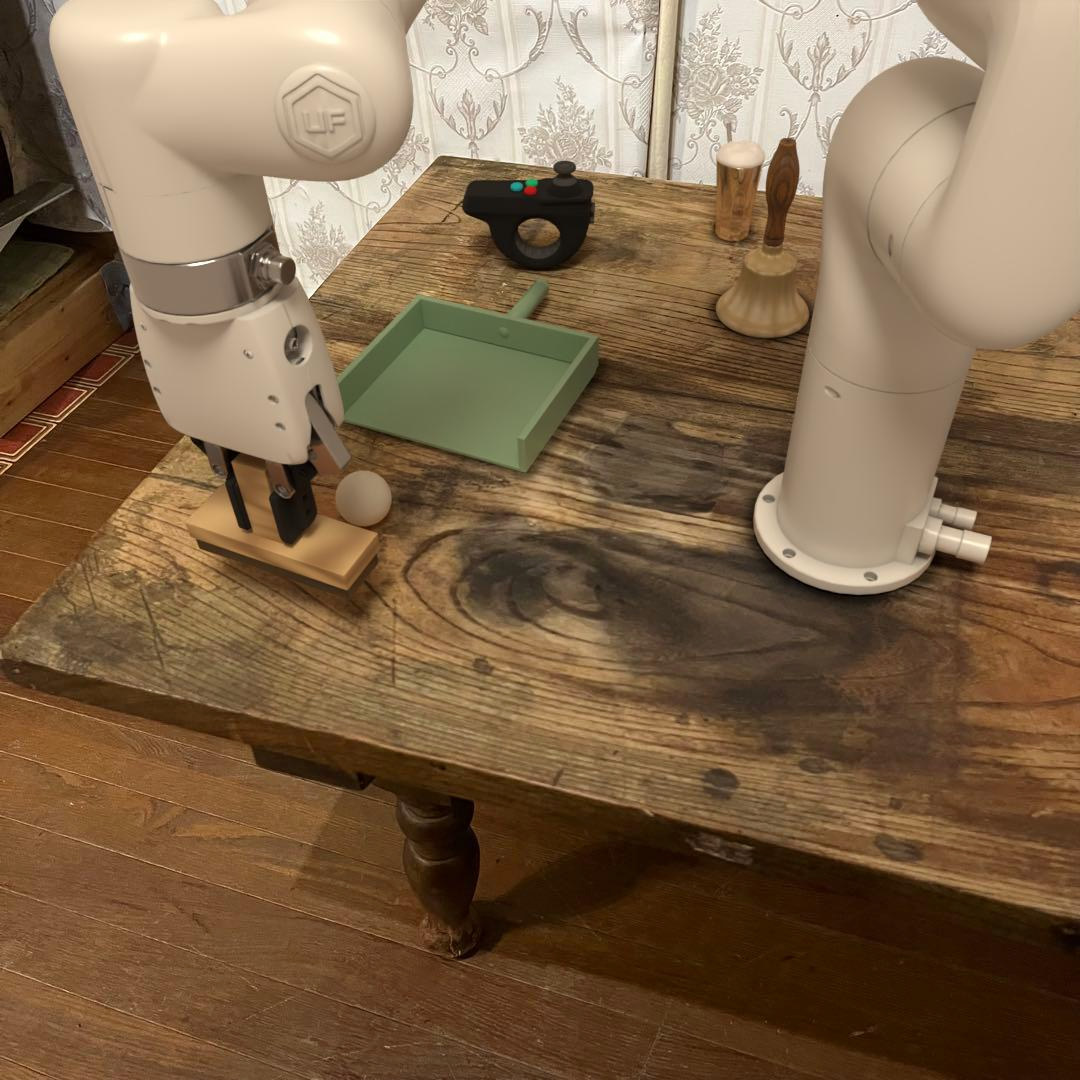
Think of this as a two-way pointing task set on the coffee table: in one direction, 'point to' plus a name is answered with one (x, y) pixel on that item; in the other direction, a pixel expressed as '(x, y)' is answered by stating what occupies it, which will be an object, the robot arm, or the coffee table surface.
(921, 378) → the robot arm
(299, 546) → the brush
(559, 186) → the controller
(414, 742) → the coffee table surface
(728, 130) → the milkshake
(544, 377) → the dustpan
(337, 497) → the white ball
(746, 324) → the hand bell
